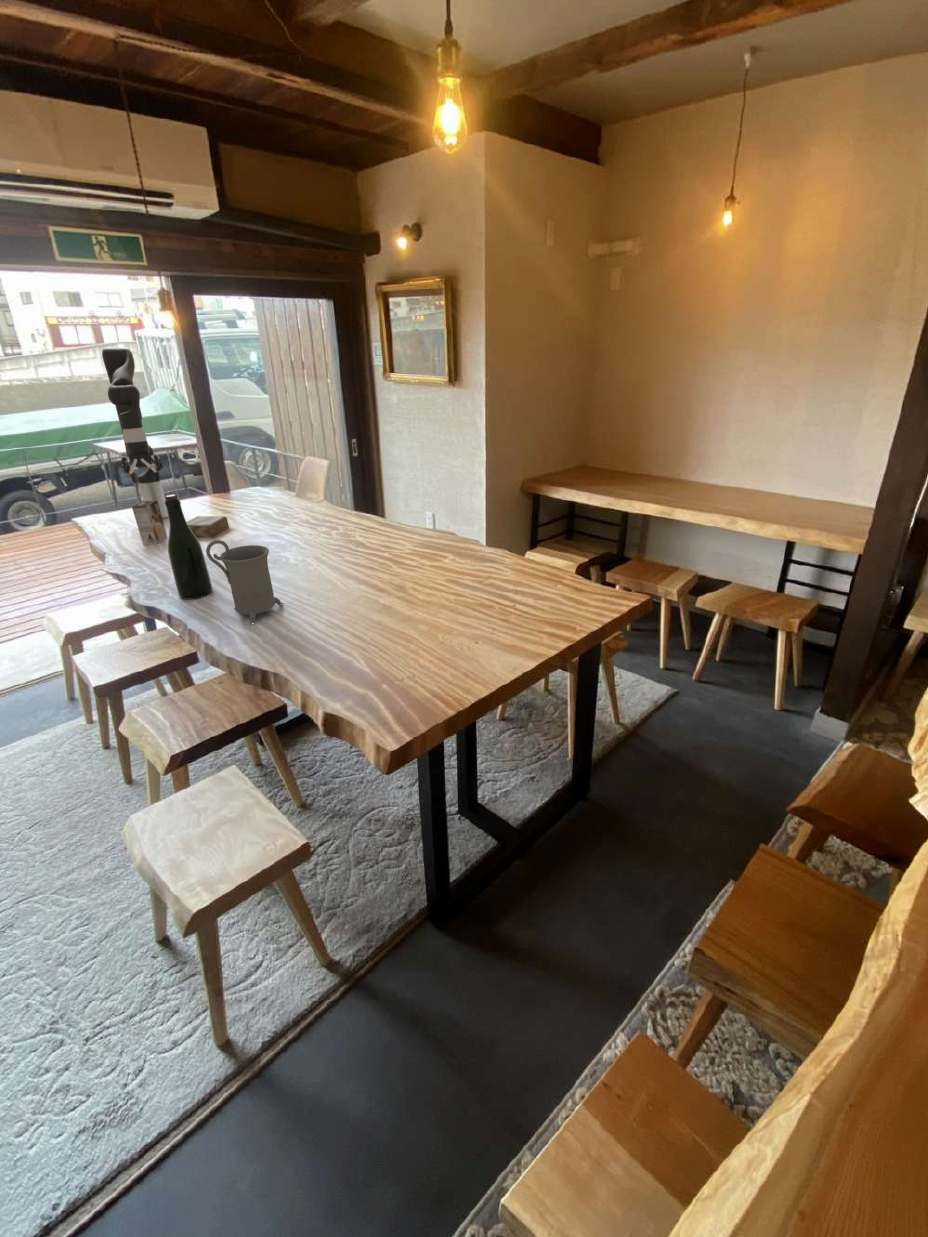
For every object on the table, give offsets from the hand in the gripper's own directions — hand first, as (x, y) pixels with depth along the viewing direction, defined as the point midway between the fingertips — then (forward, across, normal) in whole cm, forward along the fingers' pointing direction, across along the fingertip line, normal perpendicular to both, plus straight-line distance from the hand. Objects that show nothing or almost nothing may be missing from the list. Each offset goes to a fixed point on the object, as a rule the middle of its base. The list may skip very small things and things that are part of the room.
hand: (147, 482), depth 237 cm
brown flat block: (+24, -14, -12) cm, 30 cm away
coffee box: (+25, +5, -4) cm, 26 cm away
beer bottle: (+30, -33, +57) cm, 73 cm away
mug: (+32, -57, +76) cm, 100 cm away
